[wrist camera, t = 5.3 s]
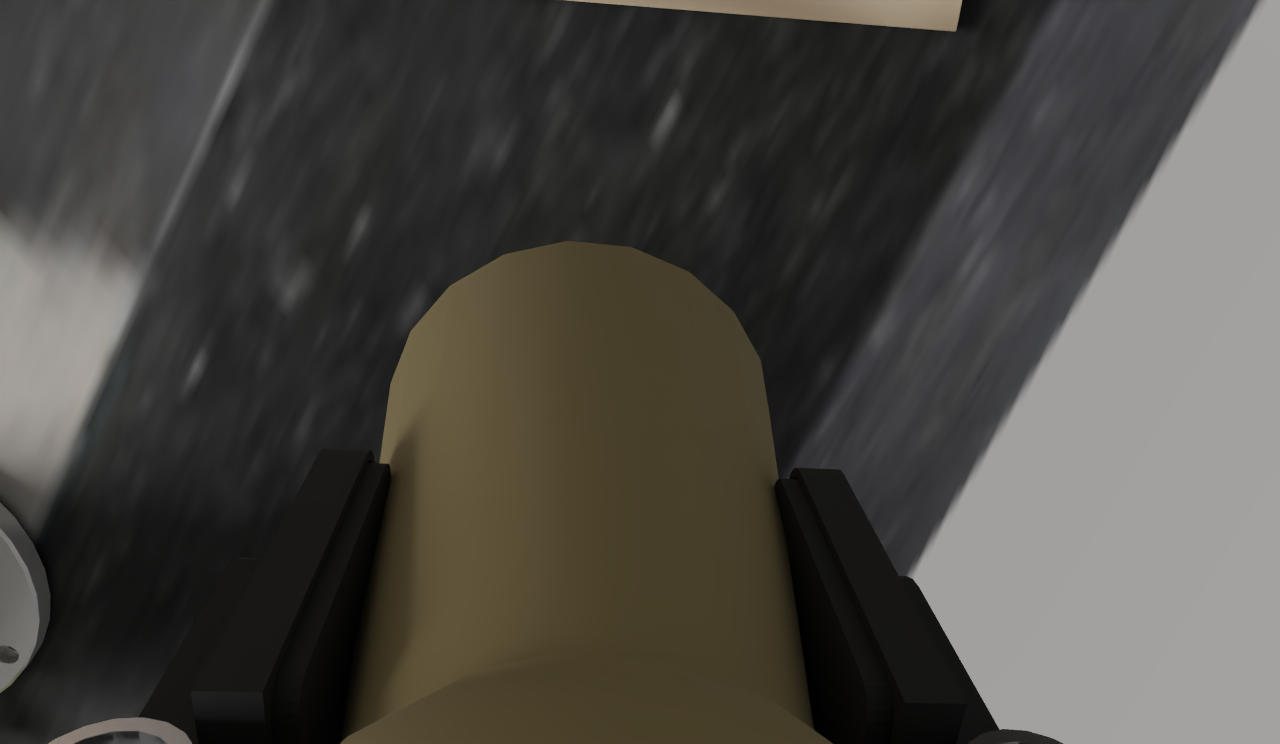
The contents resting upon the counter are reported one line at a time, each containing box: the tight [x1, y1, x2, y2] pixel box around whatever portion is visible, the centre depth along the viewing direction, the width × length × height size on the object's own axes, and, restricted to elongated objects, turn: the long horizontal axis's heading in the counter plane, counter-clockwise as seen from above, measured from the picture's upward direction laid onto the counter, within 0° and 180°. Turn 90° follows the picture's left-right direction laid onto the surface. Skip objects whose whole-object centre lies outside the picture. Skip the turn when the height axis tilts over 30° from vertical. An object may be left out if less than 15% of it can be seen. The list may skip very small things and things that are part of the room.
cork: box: [340, 241, 833, 744], centre depth 9 cm, size 6×6×11 cm
